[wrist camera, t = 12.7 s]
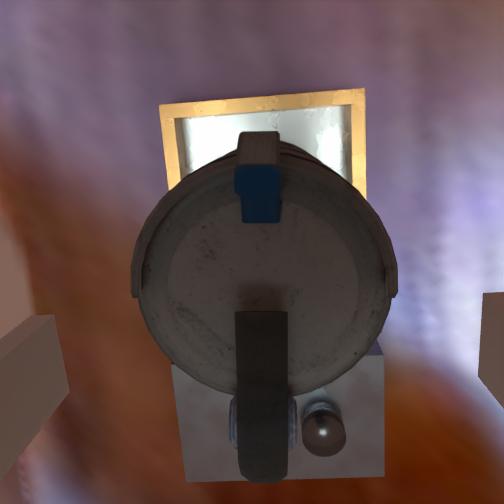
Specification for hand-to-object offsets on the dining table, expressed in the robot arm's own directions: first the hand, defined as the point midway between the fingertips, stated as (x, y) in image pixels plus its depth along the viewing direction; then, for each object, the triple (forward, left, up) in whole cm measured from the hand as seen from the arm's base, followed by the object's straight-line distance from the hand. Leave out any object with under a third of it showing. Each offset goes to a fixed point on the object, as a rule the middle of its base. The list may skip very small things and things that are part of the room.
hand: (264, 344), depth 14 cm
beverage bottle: (0, 0, -25) cm, 25 cm away
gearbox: (+5, 0, -26) cm, 27 cm away
